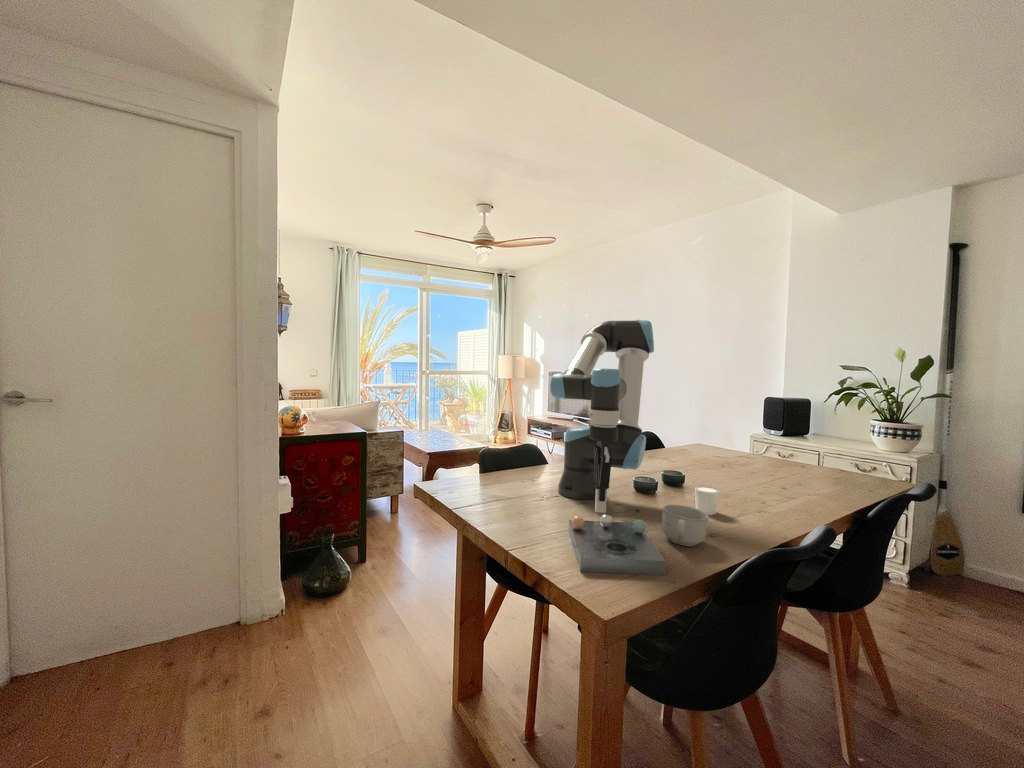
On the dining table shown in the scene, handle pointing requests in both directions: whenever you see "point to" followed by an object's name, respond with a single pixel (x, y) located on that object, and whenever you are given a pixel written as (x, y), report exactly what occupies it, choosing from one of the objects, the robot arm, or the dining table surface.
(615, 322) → the robot arm
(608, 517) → the steel ball
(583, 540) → the plate
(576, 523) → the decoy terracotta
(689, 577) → the dining table surface
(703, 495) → the shot glass
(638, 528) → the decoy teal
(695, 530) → the teacup
